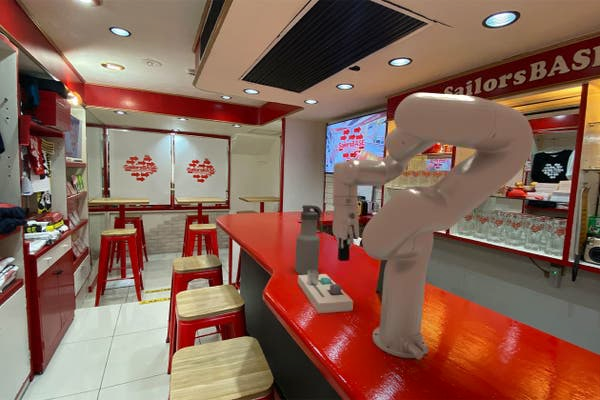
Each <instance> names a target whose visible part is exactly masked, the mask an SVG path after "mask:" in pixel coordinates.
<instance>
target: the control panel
mask: <svg viewBox="0 0 600 400" xmlns="http://www.w3.org/2000/svg"><path fill="white" fill-rule="evenodd" d="M307 277H308V275H302V274H298V276H297V284H298V285H299V287H300V289H301V290H302V292H303V293H304V295H305V296H306V297H307V299H308V300H309V302H310V303H311V304H312V306H313V307H314V310H315V311H316V312H317V314H326V313H328V314H329V313H337V312H350V311H351V312H352V311H353V307H354V306H353V305H354V300H352V298H351V297H350V296H349V295H348V294H347V293H346V292H344V290H343V289H341V295H333V296H331V295H330V285H332V284H336V282H334V280H332V279H331V277H329V275H328V274H326V273H321V274H319V277H318V284H309V283H308V281H307ZM321 278H329V279H331V284H327V285H322V284H321Z"/></svg>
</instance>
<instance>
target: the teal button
mask: <svg viewBox="0 0 600 400" xmlns="http://www.w3.org/2000/svg"><path fill="white" fill-rule="evenodd" d="M329 278H330V277H329ZM329 278H321V284H322V285H327V284H331V280H332V278H330V279H329Z"/></svg>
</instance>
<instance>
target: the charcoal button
mask: <svg viewBox="0 0 600 400" xmlns="http://www.w3.org/2000/svg"><path fill="white" fill-rule="evenodd" d="M341 290H342V285H340V284H337V283H335V284H332V285H330V295H331V296H333V295H341Z"/></svg>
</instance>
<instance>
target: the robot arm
mask: <svg viewBox="0 0 600 400" xmlns="http://www.w3.org/2000/svg"><path fill="white" fill-rule="evenodd" d="M393 121H394V126H395V128H393V129H392V130H391V131H389V132H388V133H387V135H386V137H385V139H384V146H385V148H386V151H387V153H388V155H386V156H385V157H383V158H382V159H380V160H373V159H361V158H359V159H358V158H353V159H350V160H347V161H343V162H342V161H341V162H337V163H335V164H334V165H333V177H332V178H333V179H332V181H333V183H332V186H333V187H332V207H333V214H332V234H333V236H335V239H336V240H337V241H336V242H337V260H338V261H340V262H349V261H350V255H351V254H350V249H351V245H354V243H355V241H354V240H358V239H359V236H360V225H359V223H360V222H359V211H358V210H359V209H358V187H360V186H362V187H363V186H365V187H380V186H384V185H386V184H388V183H390V182H392V181H394V180H396V179H397V178H398V177H400V176H401V175H403V173H404V172H405V171H406V169H407V168H408V166H409V163H410V161H411V160H413V159H415V158H416V157H417V156H419V155H420V154H422V153H424V152H426V151H427V150H428V149H430V148H432V147H434V146H435V145H436V144H438V143H440V144H443V145H448V146H452V147H457V148H461V149H463V148H464V149H470V150H474V152H473V154H471V155H470V156H468V157H466V158H465V159H463V160H461V161H460V162H459V163H457V164H456V165H455V166H453V167H452V168H451V169H450V170H449V171H448V172H447V173H446V174H445V175H444V176H443V177H442V178H440V180H439V181H437V182H435V183H434V184H432V185H429V186H428V185H427V186H424V185H423V186H421V185H420V186H417V185H416V186H415V185H414V186H413V185H412V186H407V187H404V188H402V189H400V190H398V191H396V192H395V193H394V194H393V195H392V196H391V197H389V199H388V200H387V201H386V202H385V203H384V204H383V205H382V206H381V208H380V209H378V211H376V213H375V214H374V215H373V216H372V217H371V218H370V219H369V221H367V223H366V225H365V226H364V229H363V232H362V234H361V244H362V248H363V249H364V250H363V251H365V253H366V254H367V255H368V256H369V257H370V258H372V259H374V260H378V261H381V260H388V261H387V263H386V267H385V271H384V280H383V292H382V298H381V304H380V305H381V307H380V320H379V321H380V323H379V326H378V327H376V328H375V329H374V330H373V332H372V341H373V342H374V344H375V345H376V347H378V348H379V349H380V350H382V351H384V352H386V353H387V354H389V355H392V356H395V357H399V358H404V359H416V360H421V359H423V357H424V355H425V354H427V353H428V352H429V348H428V347H427V342H426V341H425V339H424V335H423V334H422V323H423V322H422V319H423V309H424V300H425V299H424V297H425V287H426V279H427V271H428V265H429V260H430V258H431V253H432V250H433V247H434V240H435V239H434V233H435V232H436V233H437V232H442V231H446V230H449V229H451V228H453V227H454V226H455V225H456V224H458V223H459V222H460V221H461V220H462V219H464V218H465V217H466V216H467V215H469V214H470V213H472V211H474V210H475V209H476V208H478V207H479V206H480V205H482V204H483V203H484V202H485V201H486V200H487V199H488V198H490V197H491V196H493V194H495V193H496V192H498V190H500V189H502V188H503V187H504V186H505V185H507V184H508V183H509V182H510V181H511V180H513V178H515V176H517V174H519V173H520V171H521V170H522V169H523V168H524V166H525V165H526V163H527V161H528V160H529V158H530V157H531V156H530V155H531V153H532V149H533V147H534V146H533V144H534V133H533V129H532V126H531V124H530V122H529V120H528V119H527V118H526V116H525V114H523V113H521V112H520V111H519V110H517V109H515V108H513V107H511V106H509V105H506V104H502V103H498V102H495V101H492V100H489V99H486V98H482V97H478V96H473V95H465V94H448V93H445V94H444V93H433V92H432V93H431V92H415V93H412V94H410V95H408V96H406V97H405V98H404V99H403V100H401V102H400V103H399V104H398V106H397V107H396V110H395V112H394V116H393Z"/></svg>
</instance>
